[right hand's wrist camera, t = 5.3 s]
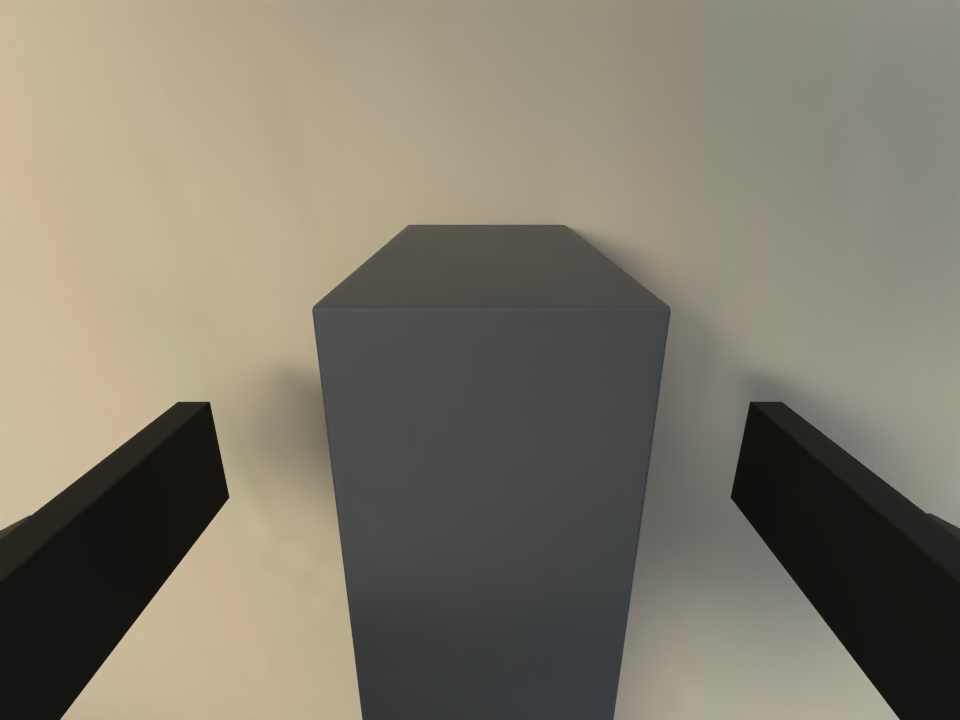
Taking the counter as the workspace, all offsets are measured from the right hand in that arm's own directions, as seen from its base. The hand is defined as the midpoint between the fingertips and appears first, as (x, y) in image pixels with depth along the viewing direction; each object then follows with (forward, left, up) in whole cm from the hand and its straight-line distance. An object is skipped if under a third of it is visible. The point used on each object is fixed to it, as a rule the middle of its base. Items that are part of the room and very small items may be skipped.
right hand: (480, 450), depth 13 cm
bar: (+15, -17, -4) cm, 23 cm away
